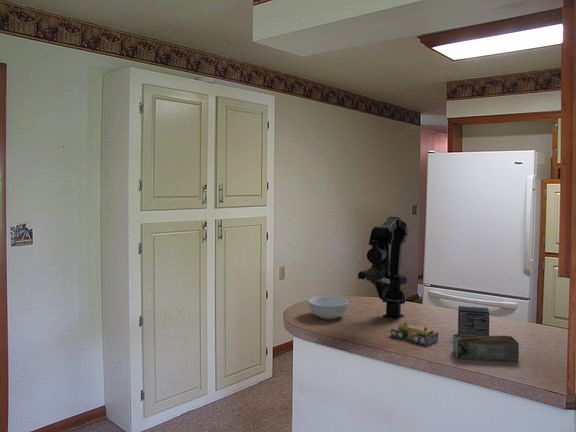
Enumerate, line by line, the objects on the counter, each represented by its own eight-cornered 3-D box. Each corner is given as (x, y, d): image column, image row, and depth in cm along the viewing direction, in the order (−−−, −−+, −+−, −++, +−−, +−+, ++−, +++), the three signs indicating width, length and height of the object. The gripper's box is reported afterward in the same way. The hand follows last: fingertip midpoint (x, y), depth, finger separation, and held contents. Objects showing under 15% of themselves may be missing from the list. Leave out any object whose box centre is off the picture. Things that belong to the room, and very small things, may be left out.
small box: (487, 335, 174) (488, 307, 173) (489, 340, 167) (490, 312, 167) (457, 332, 177) (458, 305, 176) (458, 337, 171) (458, 309, 170)
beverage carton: (452, 350, 158) (452, 331, 158) (511, 353, 156) (512, 334, 155) (457, 359, 151) (457, 339, 150) (520, 362, 148) (520, 342, 147)
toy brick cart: (402, 331, 179) (402, 323, 178) (439, 340, 168) (439, 332, 168) (389, 336, 172) (389, 328, 172) (427, 346, 162) (427, 338, 162)
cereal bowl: (300, 316, 199) (300, 300, 199) (327, 309, 211) (327, 293, 210) (329, 325, 187) (329, 307, 186) (356, 316, 198) (356, 300, 197)
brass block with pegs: (403, 334, 175) (403, 320, 175) (432, 342, 167) (433, 327, 167) (398, 336, 173) (398, 322, 173) (428, 344, 165) (428, 329, 164)
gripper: (349, 259, 180) (349, 299, 181) (392, 265, 167) (391, 308, 168) (366, 255, 188) (365, 293, 189) (407, 260, 175) (407, 301, 176)
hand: (381, 299), depth 180 cm, fingers closed
